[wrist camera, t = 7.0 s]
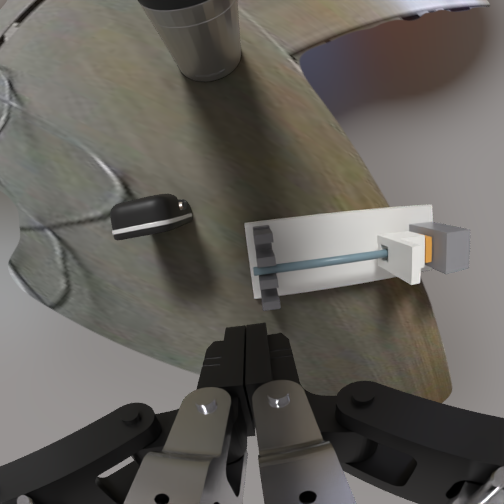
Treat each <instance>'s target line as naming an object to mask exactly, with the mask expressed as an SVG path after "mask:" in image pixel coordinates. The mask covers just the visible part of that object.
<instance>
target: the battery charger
mask: <svg viewBox="0 0 504 504" xmlns="http://www.w3.org/2000/svg"><path fill="white" fill-rule="evenodd" d="M110 216H111V223H112V229H113V230H112V233H113V234H114V239H115V240H123V239H128V238H134V237H139V236H145V235H150V234H156V233H161V232H166V231H169V230H172V229H175V228H177V227H179V226H182V225H184V224H186V223H188V222H191V221H192V213H191V208H190V206H189V204H188V202H187V201H186V200H178V199H177V198H176V196H174V195H171V194H160V195H154V196H149V197H144V198H140V199H136V200H131V201H127V202H123V203H119V204H117V205H115V206H114V207H113V208H112V209H111V213H110Z"/></svg>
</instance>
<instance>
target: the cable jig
mask: <svg viewBox="0 0 504 504" xmlns="http://www.w3.org/2000/svg"><path fill="white" fill-rule="evenodd" d="M244 225H245V233H246V241H247V248H248V256H249V263H250V271H251V278H252V286H253V293H254V299H258V298H262V307H263V311H266V310H274V309H281V306H280V299H279V296H281V295H289V294H296V293H303V292H310V291H317V290H323V289H330V288H336V287H342V286H348V285H354V284H360V283H366V282H371V281H377V280H382V279H388V278H393V277H397V276H395V275H393V274H392V273H390V272H388V271H387V270H385V269H383V268H382V267H380V266H378V259H379V258H386V257H388V249H383V250H378V245H377V235H381V234H389V233H397V232H405V231H410V232H414V233H418V234H422V235H425V265H424V268H421V272H423V271H428V270H432V268H433V269H435V270H437V271H440V272H442V273H444V274H449V273H453V272H457V271H460V270H464V269H468V268H469V254H470V229H466V228H461V227H456V226H451V225H446V224H441V223H435V222H433V215H432V205H414V206H400V207H388V208H376V209H365V210H354V211H344V212H334V213H324V214H315V215H306V216H297V217H288V218H279V219H271V220H263V221H255V222H247V223H244Z"/></svg>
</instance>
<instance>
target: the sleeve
mask: <svg viewBox="0 0 504 504" xmlns="http://www.w3.org/2000/svg"><path fill="white" fill-rule="evenodd" d="M377 245H378V250H383V249H388V257H386V258H379V259H378V266H380V267H382V268H383V269H385V270H387V271H388V272H390V273H392V274H393V275H395V276H397V277H399V278H400V279H402V280H404V281H405V282H407V283H409V284H410V285H414V284H419V283H420V276H421V268H424V265H425V235H422V234H418V233H414V232H410V231H405V232H397V233H389V234H381V235H377Z"/></svg>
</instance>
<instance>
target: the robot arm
mask: <svg viewBox="0 0 504 504" xmlns="http://www.w3.org/2000/svg"><path fill="white" fill-rule="evenodd" d="M138 1H139V3H140V5H141V6H142V8H143V9H144V11H145V13H146V14H147V16H148V18H149V19H150V20H151V22H152V24H153V25H154V27H155V29H156V30H157V32H158V34H159V35H160V37H161V39H162V40H163V42H164V44H165V45H166V47H167V49H168V50H169V52H170V54H171V55H172V57H173V59H174V61H175V62H176V64H177V66H178V67H179V69H180V71H181V72H182V73H183V74H184V75H185V76H186V77H188V78H190V79H192V80H196V81H204V82H205V81H213V80H217V79H220V78H222V77H225V76H226V75H228V74H229V73H231V72H232V71H233V70H234V69H235V68H236V67H237V65H238V64H239V61H240V59H241V43H240V28H239V14H238V1H237V0H138ZM255 428H256V433H257V440H258V447H259V455H258V460H259V468H260V475H261V482H262V489H263V496H264V503H265V504H356V501H355V499H354V497H353V494H352V492H351V489H350V487H349V484H348V482H347V480H346V477H345V475H344V472H343V471H345V472H347V473H349V474H351V475H353V476H355V477H357V478H359V479H361V480H363V481H365V482H367V483H369V484H372V485H374V486H376V487H378V488H380V489H382V490H385V491H387V492H389V493H392V494H394V495H397V496H399V497H402V498H404V499H407V500H410V501H412V502H415V503H418V504H504V418H500V417H495V416H491V415H486V414H481V413H477V412H473V411H469V410H465V409H460V408H457V407H452V406H449V405H445V404H442V403H438V402H435V401H431V400H428V399H425V398H421V397H418V396H415V395H412V394H408V393H405V392H402V391H399V390H396V389H393V388H390V387H387V386H384V385H381V384H378V383H375V382H371V381H359V382H354V383H351V384H349V385H347V386H345V387H344V388H342V389H341V390H340V391H339V393H338V395H337V396H320V395H315V394H312V393H310V392H308V391H306V390H305V389H304V388H303V387H302V386H301V384H300V382H299V378H298V374H297V370H296V366H295V362H294V358H293V354H292V350H291V346H290V342H289V339H288V338H287V337H286V336H284V335H283V334H282V333H278V334H271V335H267V328H266V323H259V324H251V325H247V327H246V326H245V325H244V326H236V327H228V328H226V331H225V337H224V341H215V342H213V343H212V344H211V345H210V346H209V347H208V349H207V350H206V354H205V359H204V362H203V367H202V370H201V374H200V378H199V382H198V386H197V390H195V391H193V392H191V393H190V394H188V395H187V396H186V397H185V399H183V401H182V404H181V406H180V408H179V409H177V410H173V411H170V412H165V413H160V414H155V413H154V411H153V410H152V408H151V407H150V406H148V405H146V404H143V403H130V404H127V405H124V406H122V407H120V408H118V409H116V410H115V411H113V412H111V413H110V414H108V415H106V416H104V417H102V418H101V419H99V420H97V421H95V422H93V423H91V424H89V425H88V426H86V427H84V428H82V429H80V430H78V431H76V432H74V433H72V434H71V435H68V436H66V437H64V438H62V439H61V440H58V441H56V442H54V443H52V444H50V445H48V446H46V447H44V448H42V449H40V450H38V451H35V452H33V453H31V454H29V455H27V456H24V457H22V458H20V459H17V460H15V461H13V462H10V463H8V464H5V465H3V466H0V504H243V493H244V485H245V476H246V466H247V458H248V457H247V456H248V453H247V450H246V449H247V436H255ZM130 456H132V458H133V459H134V461H133V462H131V463H130V464H128V465H126V466H125V467H123V468H121V469H120V470H118V471H116V472H115V473H113V474H111V475H110V476H108V477H105V478H99V477H97V476H98V475H100V474H101V473H103V472H105V471H107V470H108V469H110V468H112V467H113V466H115V465H117V464H118V463H120V462H122V461H123V460H125V459H127V458H128V457H130Z"/></svg>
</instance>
